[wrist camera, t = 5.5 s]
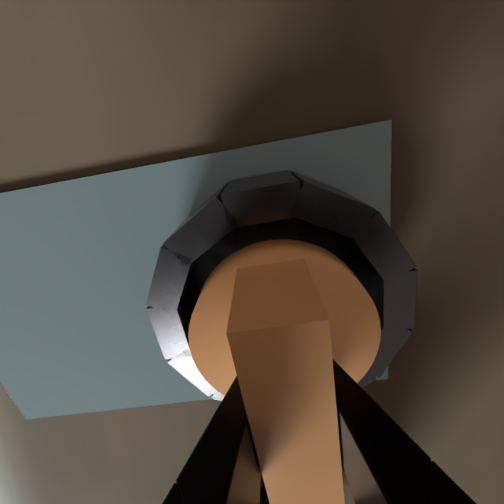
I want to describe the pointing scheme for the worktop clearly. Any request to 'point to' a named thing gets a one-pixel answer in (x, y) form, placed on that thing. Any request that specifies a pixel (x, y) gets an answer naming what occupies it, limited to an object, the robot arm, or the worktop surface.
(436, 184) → the worktop surface
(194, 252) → the black ring
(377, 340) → the rotary knob
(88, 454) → the worktop surface
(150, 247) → the mat
